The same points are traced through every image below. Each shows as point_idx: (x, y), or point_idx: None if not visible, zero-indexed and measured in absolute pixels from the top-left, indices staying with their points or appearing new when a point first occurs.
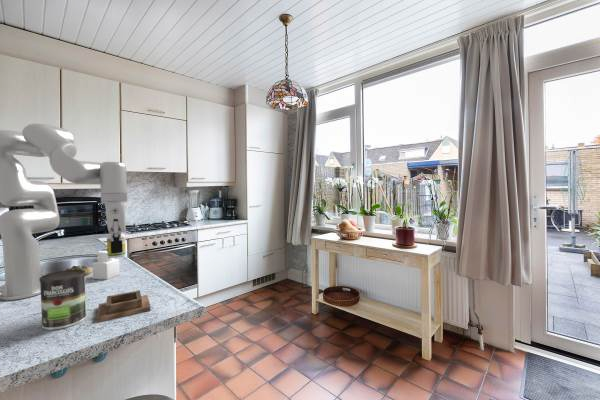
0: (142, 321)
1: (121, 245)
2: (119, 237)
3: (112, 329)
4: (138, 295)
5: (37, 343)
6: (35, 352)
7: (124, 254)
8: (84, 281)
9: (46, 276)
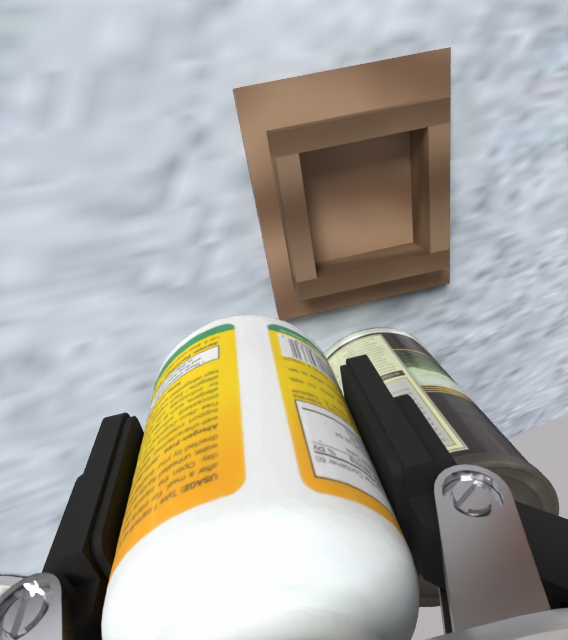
0: (547, 81)
1: (396, 411)
2: (517, 536)
3: (545, 200)
4: (370, 127)
5: (501, 393)
6: (557, 375)
7: (283, 325)
8: (454, 427)
9: (437, 592)
